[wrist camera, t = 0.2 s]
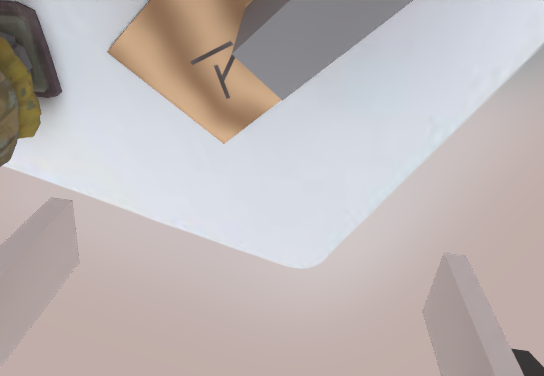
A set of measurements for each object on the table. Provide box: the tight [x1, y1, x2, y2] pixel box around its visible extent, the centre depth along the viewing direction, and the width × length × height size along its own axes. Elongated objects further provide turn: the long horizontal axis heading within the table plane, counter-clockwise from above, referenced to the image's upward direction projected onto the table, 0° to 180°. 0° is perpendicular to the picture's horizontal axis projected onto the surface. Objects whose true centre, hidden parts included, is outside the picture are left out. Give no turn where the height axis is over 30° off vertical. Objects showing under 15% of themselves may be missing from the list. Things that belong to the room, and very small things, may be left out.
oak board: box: [108, 0, 281, 144], centre depth 38 cm, size 24×14×1 cm, turn 134°
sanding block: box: [232, 0, 413, 100], centre depth 32 cm, size 11×5×8 cm, turn 134°
